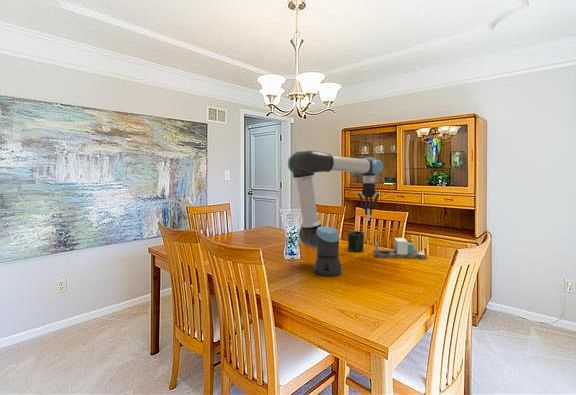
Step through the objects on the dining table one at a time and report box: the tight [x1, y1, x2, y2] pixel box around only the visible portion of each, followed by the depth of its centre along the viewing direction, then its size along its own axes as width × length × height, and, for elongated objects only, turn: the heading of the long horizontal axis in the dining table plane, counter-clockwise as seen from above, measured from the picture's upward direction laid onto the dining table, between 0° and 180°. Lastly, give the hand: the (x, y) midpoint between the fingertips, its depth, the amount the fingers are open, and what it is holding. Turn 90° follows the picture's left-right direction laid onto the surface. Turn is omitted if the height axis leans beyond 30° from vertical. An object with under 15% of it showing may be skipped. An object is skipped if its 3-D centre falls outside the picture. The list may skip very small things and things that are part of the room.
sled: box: [374, 241, 418, 254], centre depth 201 cm, size 24×7×5 cm, turn 82°
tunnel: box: [393, 237, 409, 255], centre depth 201 cm, size 6×10×8 cm, turn 172°
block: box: [408, 242, 414, 252], centre depth 200 cm, size 6×4×4 cm
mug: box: [347, 230, 365, 253], centre depth 217 cm, size 11×15×12 cm
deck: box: [372, 248, 428, 260], centre depth 202 cm, size 30×11×2 cm, turn 82°
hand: (368, 220), depth 202 cm, fingers closed
